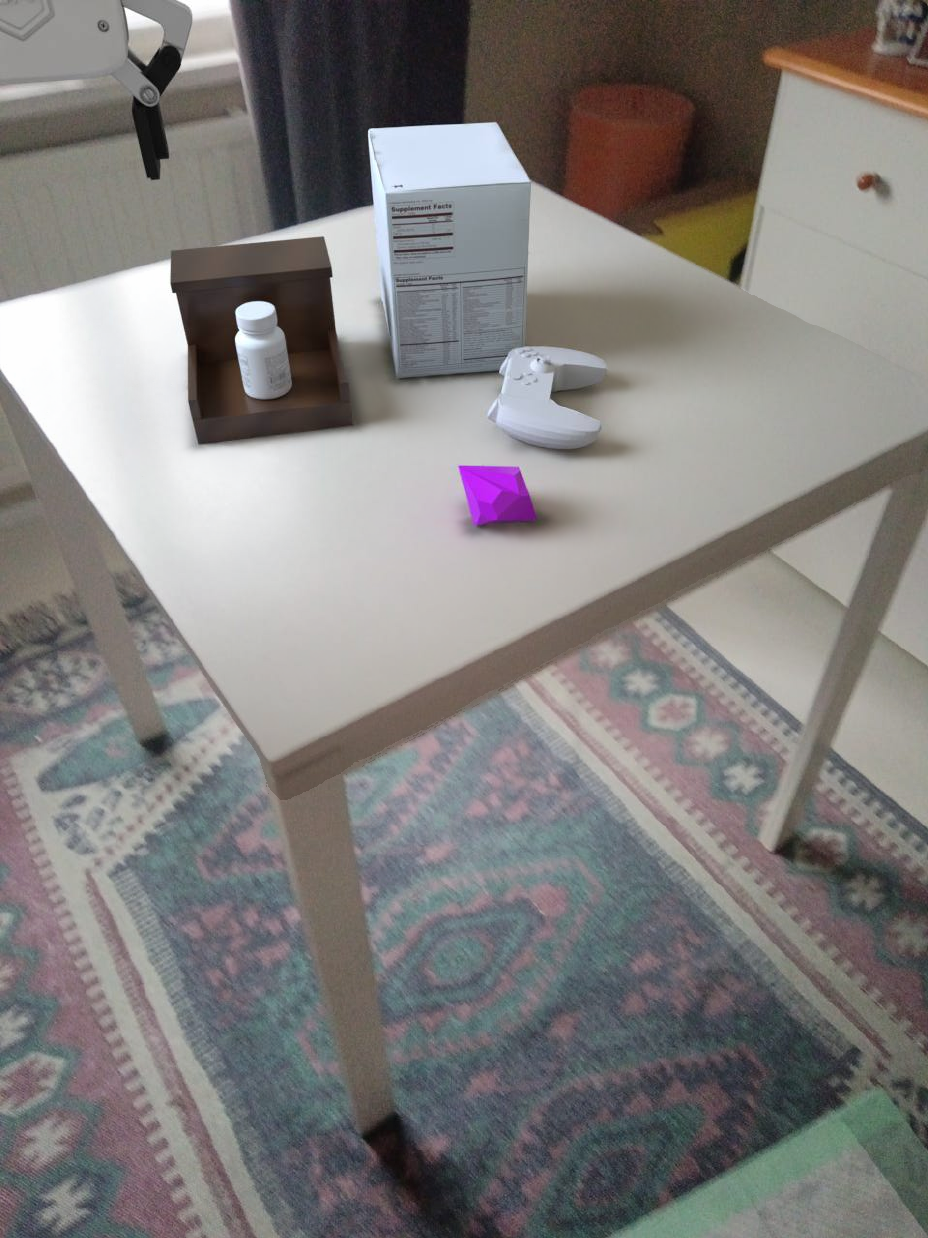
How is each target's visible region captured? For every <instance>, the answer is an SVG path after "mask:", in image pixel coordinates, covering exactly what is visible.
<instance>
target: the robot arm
mask: <svg viewBox="0 0 928 1238" xmlns="http://www.w3.org/2000/svg"><path fill="white" fill-rule="evenodd" d="M125 8H126V9H127V10H130V11H132V12H134V13H136V14H138V15H140V16H142V17H145V18H147V19H149V20H151V21H154V22H156V23H157V24H159V25H160V26H161V27H162V29H163V35H162V38H161V43H160V46H159V47H158V49H157V50H156V51H155V53H154V54H153V55H152V57H151V59H150V61H149V62H148V63H147V62H146V61H144V60H143V59H142V58H141V57H140V56H139V55H138V54H137V53H136V51H134V50H133V49H132V48H131V47H130V46H129V42H130V41H129V40H130V33H129V25H128V19H127V18H128V17H127V15H126V10H125ZM192 25H193V12H192V9H191V8H190V6H188V5H187V4H185V3H183V2H182V1H179V0H0V86H3V85H17V84H18V85H19V84H20V85H21V84H34V83H35V84H36V83H47V82H60V81H74V80H87V79H96V78H102V77H107V76H110V75H111V76H112V78H114V79H115V80H116V81H117V82H118V83H119V84H120V85H121V86H123V87H124V88H125V89H126V90H127V91H128V92H129V93H130V94H131V95H132V104H131V115H132V119H133V124H134V129H135V132H136V137H137V140H138V145H139V150H140V154H141V158H142V162H143V166H144V167H143V168H144V171H145V176H146V179H150V180H151V181H158V180H159V181H160V180H161V167H162V165H161V160H170V151H169V145H168V139H167V136H166V130H165V125H164V121H163V116H162V111H161V107H160V100H161V99H160V98H161V96H162V95H163V94H164V92H166V89H167V87H168V86H169V85H170V83H171V82H172V80H173V79H174V77H175V76H176V74H177V73H178V72H179V70H180V68H181V66H182V63H183V62H182V61H183V59H184V58H183V57H184V54H185V51H186V46H187V43H188V40H189V37H190V33H191V29H192Z"/></svg>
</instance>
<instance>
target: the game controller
mask: <svg viewBox="0 0 928 1238" xmlns="http://www.w3.org/2000/svg"><path fill="white" fill-rule="evenodd" d="M498 371H499V372H498V373H499V374H500V375H501V376H503V382H502V386H501V387H502V388H501V391H500V392H499V395H498V397H497V398H496V399H495V400H494V402H493V403H492V404H491V406H490V408H489V410H488V411H487V416H486V418H487V419H488V420H490V421H492V422H494V423H495V426H496V427H497V428H498V429H500V430H501V431H502V432H504V433H506V434H507V435H509V437H512V438H514V439H515V440H518V441H520V442H523V443H526V444H529V445H532V446H536V447H540V448H545V449H552V450H572V449H580V448H583V447H586V446H589V445H590V444H592V443H593V442H595V441H596V440H597V438H598V437H599V434H600V433H601V430H602V426H603V425H602V422H601V421H600V420H598V419H596V418H594V417H591V416H589V415H587V414H584V413H583V412H580V411H577V410H575V409H572V408H569V407H565V406H561V405H559V404H557V403H556V402H555V401H554V400H553V399H551V393H552V392H558V391H566V390H568V391H569V390H576V389H581V388H585V387H590V386H593V385H596V384H597V383H600V382H602V381H603V380H604V379H605V378H606V377H607V373H608V369H607V364H606V361H605V360H603V358H601V357H599V356H597V355H595V354H593V353H589V352H585V351H581V350H578V349H572V348H565V347H555V346H526V345H525V347H521V348H516V349H512V350H511V351H510V352H509V354H508V357H507V358H506V360H505V361H504V363H503V364H502V366H501V367H500V370H498Z"/></svg>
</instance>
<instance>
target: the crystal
mask: <svg viewBox="0 0 928 1238" xmlns="http://www.w3.org/2000/svg"><path fill="white" fill-rule="evenodd" d="M457 467H458V471H459V475H460V478H461V481H462V485H463V490H464V493H465V497H466V501H467V504H468V508H469V512H470V515H471V519H472V523H473V525H474V526H475V527H476V526H477V527H478V526H490V525H500V524H509V523H520V522H521V523H522V522H531V521H532V522H533V521H538V520H539V519H538V516H537V514H536V510H535V507H534V504H533V501H532V498H531V495H530V492H529V490H528V487H527V484H526V482H525V479H524V477H523V474H522V471H521V468H520V466H508V465H507V466H506V465H464V464H463V465H460V464H458V465H457Z"/></svg>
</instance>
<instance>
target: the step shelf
mask: <svg viewBox="0 0 928 1238" xmlns="http://www.w3.org/2000/svg"><path fill="white" fill-rule="evenodd" d="M169 276H170V277H169V278H170V279H169V280H170V281H169V284H170V289H171V292H172V294H175V295H176V301H177V305H178V309H179V314H180V318H181V322H182V327H183V331H184V337H185V340H186V345H187V403H188V406H189V411H190V415H191V419H192V424H193V428H194V432H195V436H196V440H197V444H198V445H202V444H203V445H204V444H210V443H218V442H227V441H235V440H243V439H251V438H260V437H267V436H276V435H283V434H284V435H285V434H292V433H301V432H309V431H316V430H325V429H332V428H341V427H342V428H343V427H350V426H354V425H353V423H354V422H353V415H352V404H351V397H350V387H349V380H348V375H347V371H346V366H345V363H344V359H343V355H342V350H341V346H340V341H339V337H338V333H337V328H336V319H335V309H334V300H333V291H332V283H331V278H333V266H332V262H331V259H330V255H329V250H328V246H327V243H326V239H325V236H323V235H322V236H312V237H311V236H310V237H300V238H299V237H298V238H289V239H280V240H270V241H258V242H249V243H238V244H237V243H236V244H227V245H226V244H225V245H217V246H206V247H196V248H195V247H194V248H185V249H174V250H170V275H169ZM255 301H263V302H267V303H270V304H272V305H273V306H274V307H275V310H276V315H277V326H278V327H279V328H280V329H281V330H282V331H283V332H284V335H285V340H286V347H287V353H288V360H289V366H290V373H291V380H292V386H291V389H290V390H289V391H288V392H287V393H286V394H285V395H283V396H281V397H278V398H274V399H264V400H263V399H256V398H252V397H250V396H249V395H248V394H247V393H246V392H245V390H244V385H243V381H242V375H241V370H240V364H239V359H238V354H237V349H236V343H235V337H236V335H237V333H238V332H239V331H240V330H239V328H238V325H237V320H236V309H237V308H238V307H239V306H241V305H243V304H245V303H248V302H255Z"/></svg>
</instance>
